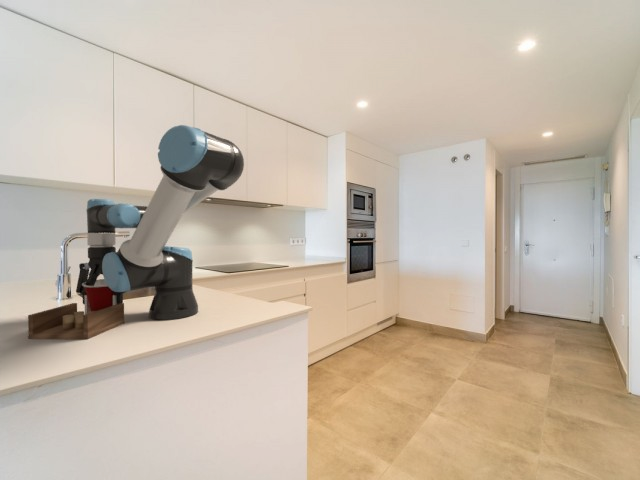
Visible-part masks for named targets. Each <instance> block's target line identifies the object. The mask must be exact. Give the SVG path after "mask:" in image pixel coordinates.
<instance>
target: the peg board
mask: <svg viewBox="0 0 640 480" xmlns="http://www.w3.org/2000/svg"><path fill="white" fill-rule="evenodd" d="M27 323H28V324H27V327H28V330H27V331H28V339H31V340H32V339H35V340H40V339H41V340H43V339H44V340H89V339H91V338H93V337H94V338H95V337H97V336H98V335H101V334H103V333H105V332H107V331H110V330H112V329H115V328H116V327H119V326H122V325H124V324H125V303H124V302H123V303H119V304H116V305H113V306H110V307H107V308H104V309H101V310H98V311H92V312H87V313H86V315H85V310H84V311H83V310H81V311H78V303H77V302H72V303H68V304H65V305H62V306H61V305H60V306H56V307H54V308H50V309H47V310H41V311H40V312H39V311H38V312H36V313H31V314H28V315H27Z"/></svg>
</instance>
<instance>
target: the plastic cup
mask: <svg viewBox="0 0 640 480" xmlns="http://www.w3.org/2000/svg"><path fill="white" fill-rule="evenodd" d="M82 286H83V287H84V288H85V291H86V294H87V298H88V302H89V306H90V309H91V312H92V311H98V310H101V309H104V308H107V307H110V306H113V295H114V294H115V292H114V291H112V290H111V289H110V288H109V287H108V285H107V284H106V282H105V279H104V278H101V279H100V278H99V279H97V280H96V282H95V284H94V286H86V282H85V283H83V284H82Z"/></svg>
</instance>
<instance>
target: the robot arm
mask: <svg viewBox="0 0 640 480" xmlns="http://www.w3.org/2000/svg"><path fill="white" fill-rule="evenodd" d="M158 150H159V151H158V152H157V159H158V162H159V165H160V171H161V173H162V175H163V176H162V178H161V179H160V181H159V184H158V186H157V188H156V190H155V191H154V194H153V195H152V197H151V199H150V201H149V203H148V205H147V206H146V205H145V206H144V205H134V204H131V203H123V202H122V203H115V201H114V200H112V199H107V198H106V199H105V198H91V199H88V200H87V204H86V205H87V206H86V207H87V208H86V209H85V210H86V220H87V221H86V225H87V228H86V229H87V246H89V247H88V248H87V258H88V262H83V263H82V262H81V263H79V264H78V265H79V273H78V279H77V283H76V289H75V292H76V293H77V294H80V295H82V304H83V305H84V315H86V313H87V312H91V309H90V306H89V302H88V298H87V294H86V291H85V288H84V287H83V286H82V284H83V283H85V282H86V286H94V284H95V282H96V280H98V277H100V275H102V276H103V279H105V282H106V284H107V285H108V287H109V288H110V289H111V290H112V291H114V292H115V294H114V295H113V305H116V304H119V303H124V294H125V293H128V292H131V291H138V290H142V289H147V288H148V289H149V288H154V295H153V298H152V300H151V304H150V307H149V309H148V313H149V314H148V316H149V318H150V319H153V320H164V321H165V320H166V321H167V320H176V319H183V318H189V317H191V316H194V315H196V314H198V313H199V304H198V300H197V298H196V295H195V294H194V290H193V262H194V260H193V253H192V250H191V249H190V248H187V247H180V246H167V243H168V242H169V239H170V238H171V236H172V234H173V232H174V231H175V228H176V227H177V225H178V224H179V222H180V220H181V218H182V216H183V214H185V213H186V212H188V211H189V210H190V209H192V208H194V207H195V206H197V205H198V204H200V203H201V202H203V201H205V199H207V198H209V197H210V196H212V195H213V194H214V193H216V192H217V191H225V190H227V189H229V187H231V186H233V185H234V184H235V183H237V181H238V180H239V179H240V177H241V176H242V174H243V172H244V169H245V161H244V160H245V159H244V156H243V154H242V153H243V152H242V151H241V150H240V149H239V146H237V145H236V144H235V143H234V142H233V141H230V140H228V139H226V138H222V137H220V136H216V135H214V134H212V133H209V132H207V131H204V130H202V129H200V128H197V127H193V126H189V125H186V124H185V125H184V124H180V125H176V126H173V127H171V128H169V129H167V131H166V132H165V133H164V134H163V135H162V137H161V139H160V141H159V144H158ZM116 229H135V230H134V232H133V234H132V237H130V239H127V240H125V241H123V242H122V243H121V244H120V246H119V249H118V250H117V249H116ZM116 250H117V251H116Z"/></svg>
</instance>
